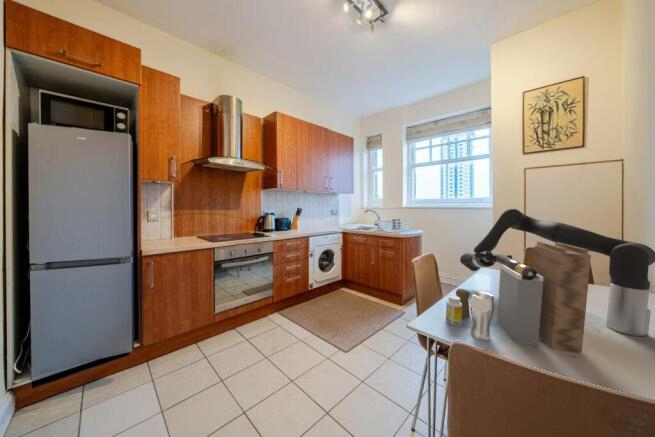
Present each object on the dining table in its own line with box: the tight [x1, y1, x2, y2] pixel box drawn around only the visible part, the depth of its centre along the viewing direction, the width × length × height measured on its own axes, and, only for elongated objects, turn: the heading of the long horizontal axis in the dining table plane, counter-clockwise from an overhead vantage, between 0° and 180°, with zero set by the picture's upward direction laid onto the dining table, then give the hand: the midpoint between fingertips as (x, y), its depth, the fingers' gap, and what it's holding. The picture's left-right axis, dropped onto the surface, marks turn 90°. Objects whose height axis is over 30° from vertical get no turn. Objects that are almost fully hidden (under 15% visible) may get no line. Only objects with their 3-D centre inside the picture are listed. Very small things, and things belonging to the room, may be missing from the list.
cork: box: [455, 288, 471, 319], centre depth 102 cm, size 6×6×11 cm
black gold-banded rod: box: [496, 253, 537, 280], centre depth 91 cm, size 23×4×4 cm, turn 165°
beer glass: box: [470, 291, 495, 341], centre depth 86 cm, size 7×7×15 cm
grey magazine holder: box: [496, 264, 543, 346], centre depth 88 cm, size 7×14×24 cm, turn 165°
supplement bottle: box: [445, 295, 463, 326], centre depth 96 cm, size 6×6×10 cm
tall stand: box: [532, 241, 592, 354], centre depth 84 cm, size 8×14×34 cm, turn 165°
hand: (500, 256), depth 106 cm, fingers open, 8 cm apart
